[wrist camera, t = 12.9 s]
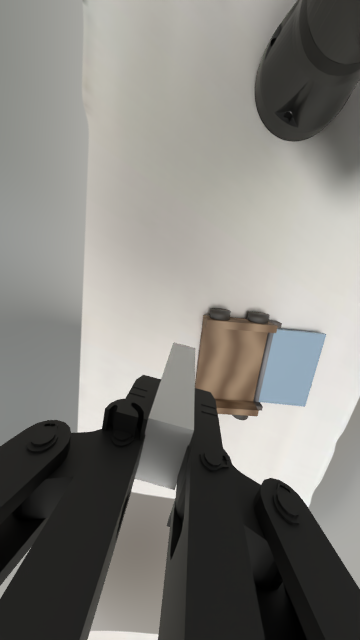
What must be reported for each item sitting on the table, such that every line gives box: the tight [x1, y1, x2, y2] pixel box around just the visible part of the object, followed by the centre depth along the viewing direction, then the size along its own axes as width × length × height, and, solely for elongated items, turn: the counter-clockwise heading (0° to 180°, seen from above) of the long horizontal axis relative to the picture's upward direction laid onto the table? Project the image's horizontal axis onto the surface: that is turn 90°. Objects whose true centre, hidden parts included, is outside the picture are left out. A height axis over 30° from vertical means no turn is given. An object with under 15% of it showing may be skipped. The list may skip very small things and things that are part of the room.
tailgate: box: [254, 329, 326, 406], centre depth 41 cm, size 1×18×12 cm
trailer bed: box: [195, 308, 282, 420], centre depth 40 cm, size 16×24×4 cm, turn 175°
